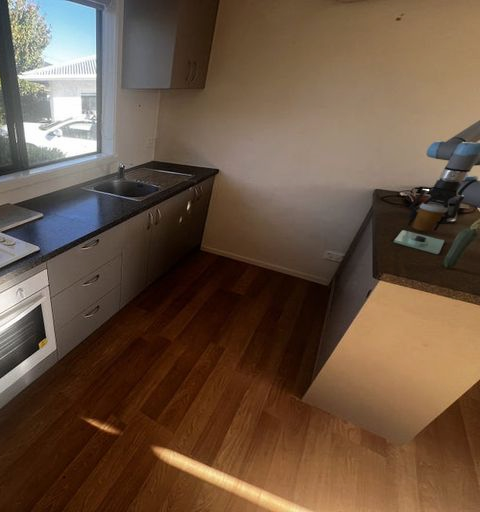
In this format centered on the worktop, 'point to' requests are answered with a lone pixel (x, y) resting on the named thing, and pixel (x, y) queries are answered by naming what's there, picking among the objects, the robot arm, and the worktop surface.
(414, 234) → the scale
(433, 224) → the disposable coffee cup
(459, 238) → the vegetable
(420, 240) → the button
